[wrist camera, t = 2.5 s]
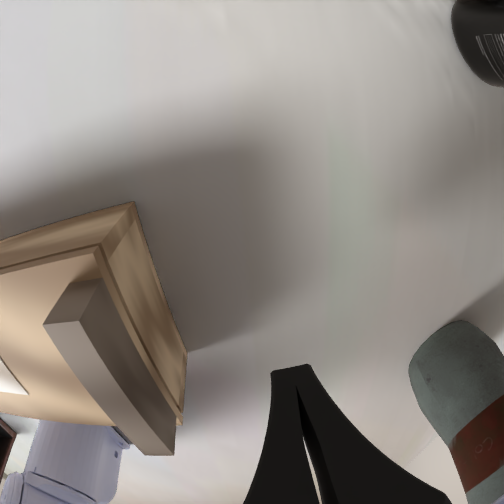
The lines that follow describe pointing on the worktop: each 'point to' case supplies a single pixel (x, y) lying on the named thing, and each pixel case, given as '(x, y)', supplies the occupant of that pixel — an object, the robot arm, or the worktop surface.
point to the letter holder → (5, 445)
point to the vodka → (465, 404)
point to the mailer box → (116, 279)
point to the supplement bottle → (481, 37)
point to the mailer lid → (79, 352)
